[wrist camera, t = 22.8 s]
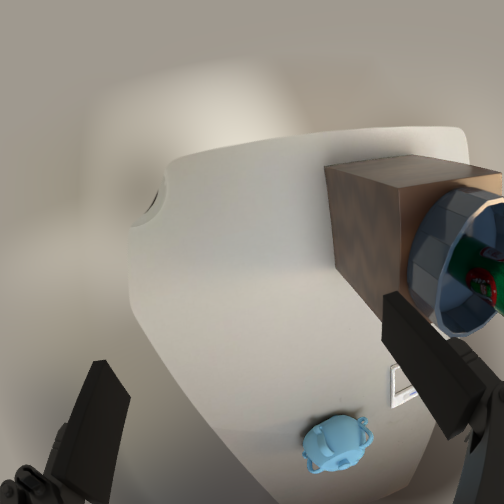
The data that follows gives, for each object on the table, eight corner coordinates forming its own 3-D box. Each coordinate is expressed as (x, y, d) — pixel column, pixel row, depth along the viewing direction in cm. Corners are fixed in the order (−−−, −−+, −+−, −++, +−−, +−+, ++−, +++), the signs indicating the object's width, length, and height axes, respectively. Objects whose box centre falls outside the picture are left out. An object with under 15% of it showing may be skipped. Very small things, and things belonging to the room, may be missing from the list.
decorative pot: (311, 411, 62) (326, 455, 49) (367, 406, 64) (387, 444, 52) (293, 445, 67) (303, 485, 55) (344, 440, 70) (358, 476, 57)
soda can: (479, 240, 26) (555, 284, 15) (463, 280, 28) (532, 333, 16) (456, 229, 25) (541, 276, 14) (438, 272, 27) (515, 332, 15)
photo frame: (392, 409, 65) (393, 369, 59) (390, 406, 66) (390, 366, 60) (435, 385, 65) (441, 343, 58) (433, 383, 66) (439, 340, 59)
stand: (323, 166, 42) (398, 188, 23) (413, 154, 43) (502, 172, 24) (335, 268, 48) (394, 338, 30) (416, 246, 49) (489, 296, 30)
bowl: (406, 196, 24) (442, 210, 19) (498, 180, 24) (530, 190, 20) (401, 330, 29) (425, 357, 25) (486, 292, 30) (510, 310, 25)
